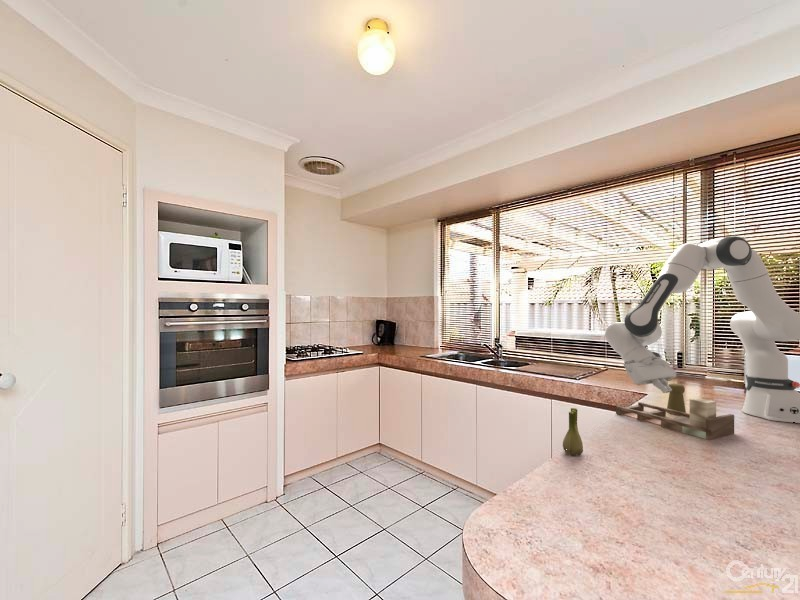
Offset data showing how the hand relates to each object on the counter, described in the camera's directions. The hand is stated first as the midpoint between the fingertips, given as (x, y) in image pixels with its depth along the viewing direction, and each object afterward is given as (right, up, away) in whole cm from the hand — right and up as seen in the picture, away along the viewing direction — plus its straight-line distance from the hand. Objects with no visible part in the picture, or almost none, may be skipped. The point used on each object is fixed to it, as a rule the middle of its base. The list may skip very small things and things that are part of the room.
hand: (668, 391), depth 132 cm
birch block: (+4, -8, -10) cm, 14 cm away
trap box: (0, -10, -1) cm, 11 cm away
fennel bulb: (-47, -10, -30) cm, 56 cm away
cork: (+11, -11, +12) cm, 20 cm away
